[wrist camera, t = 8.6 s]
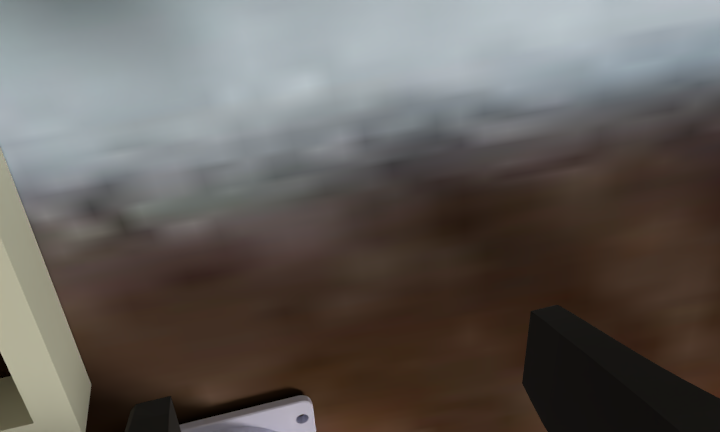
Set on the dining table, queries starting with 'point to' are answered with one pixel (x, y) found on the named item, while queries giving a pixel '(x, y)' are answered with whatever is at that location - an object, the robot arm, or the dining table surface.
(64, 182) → the dining table surface
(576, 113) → the dining table surface
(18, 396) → the peg frame
